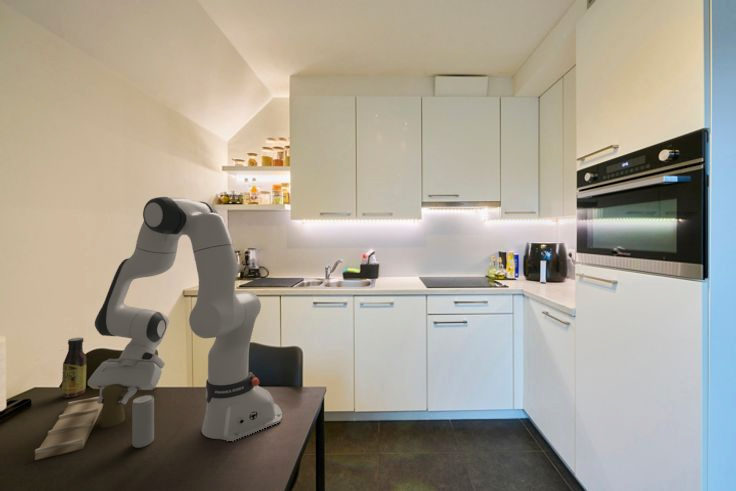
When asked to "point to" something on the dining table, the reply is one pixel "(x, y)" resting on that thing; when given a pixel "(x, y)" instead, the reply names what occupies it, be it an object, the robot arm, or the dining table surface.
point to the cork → (112, 406)
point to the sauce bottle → (74, 369)
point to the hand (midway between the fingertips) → (110, 403)
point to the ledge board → (70, 428)
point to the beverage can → (142, 421)
